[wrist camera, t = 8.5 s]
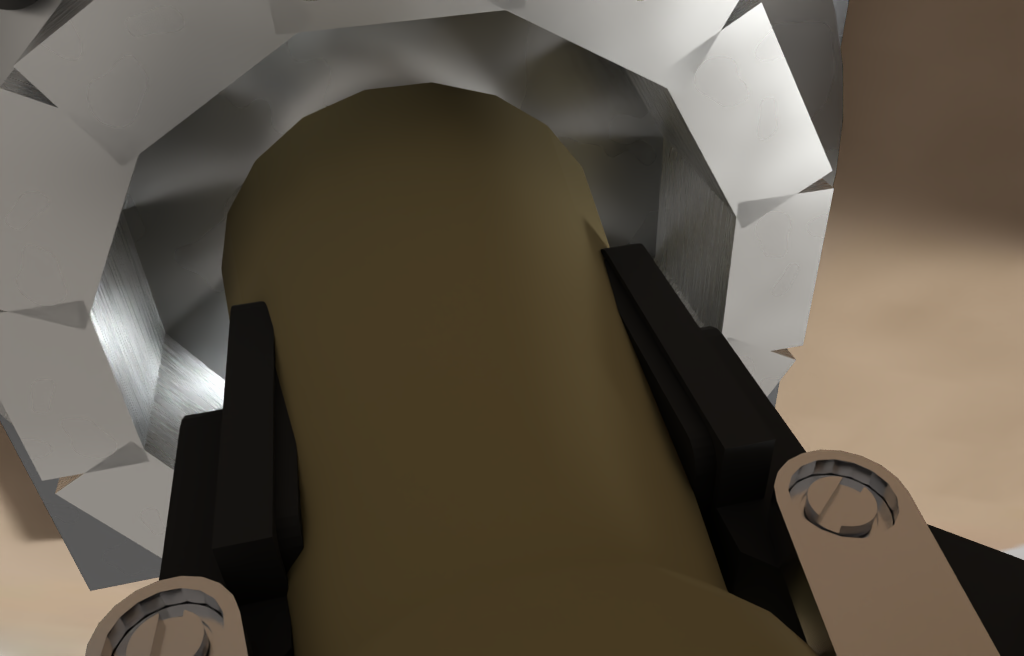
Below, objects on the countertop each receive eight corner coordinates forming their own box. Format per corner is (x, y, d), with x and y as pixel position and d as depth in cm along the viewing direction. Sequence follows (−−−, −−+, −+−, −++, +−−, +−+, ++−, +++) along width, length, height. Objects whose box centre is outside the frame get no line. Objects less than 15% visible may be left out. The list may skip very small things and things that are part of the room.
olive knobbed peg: (633, 90, 13) (1383, 904, 4) (569, 403, 16) (907, 1210, 8) (204, 72, 11) (-37, 1281, 3) (233, 420, 15) (169, 1450, 6)
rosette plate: (-316, -312, 11) (-678, -328, 7) (858, -364, 13) (1118, -399, 9) (101, 539, 20) (57, 746, 16) (739, 417, 23) (840, 571, 18)
